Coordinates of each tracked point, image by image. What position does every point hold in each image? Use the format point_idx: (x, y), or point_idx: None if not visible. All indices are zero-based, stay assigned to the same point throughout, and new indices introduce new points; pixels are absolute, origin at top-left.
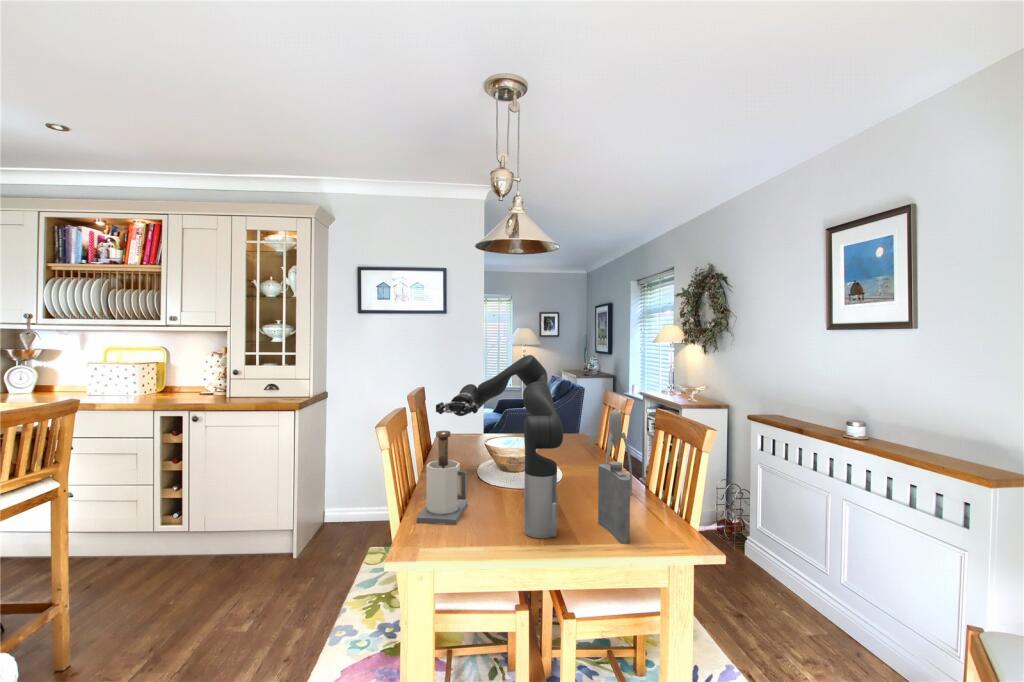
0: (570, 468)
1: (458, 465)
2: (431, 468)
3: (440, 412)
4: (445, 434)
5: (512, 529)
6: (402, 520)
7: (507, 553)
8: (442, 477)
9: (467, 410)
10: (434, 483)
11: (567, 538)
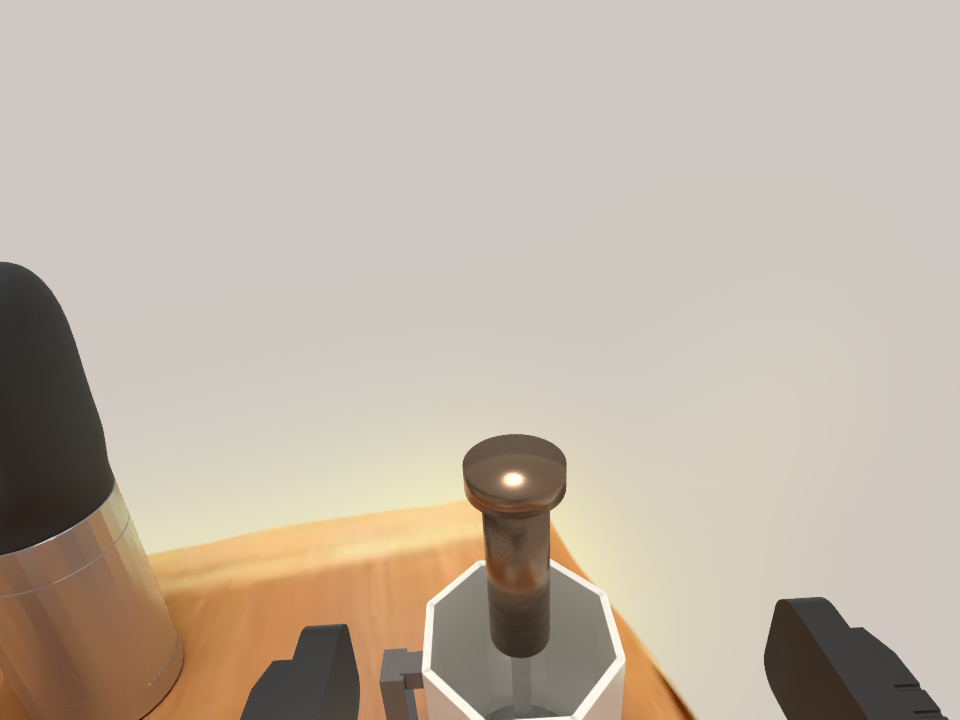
0: None
1: (424, 641)
2: (557, 565)
3: (774, 645)
4: (485, 446)
5: (218, 687)
6: (662, 689)
7: (275, 545)
8: None
9: (284, 676)
10: None
11: None
